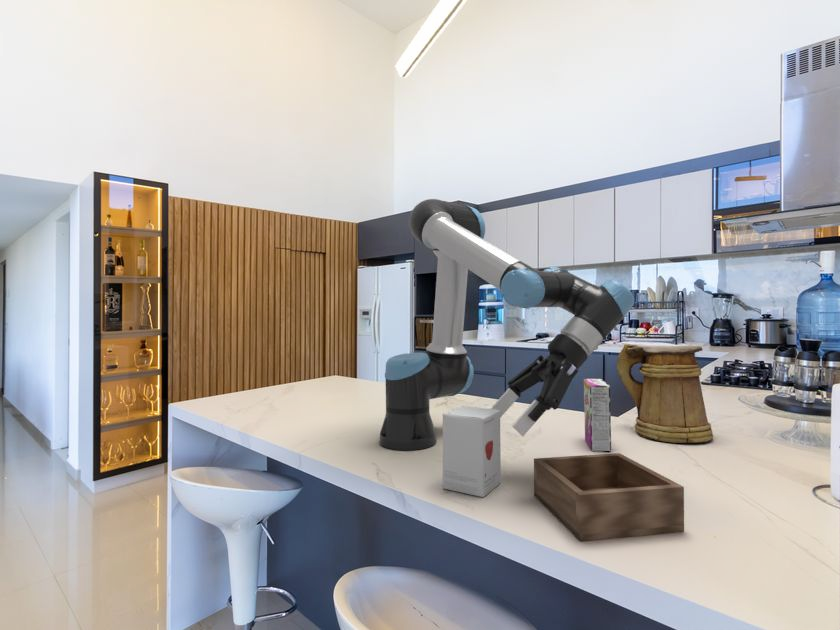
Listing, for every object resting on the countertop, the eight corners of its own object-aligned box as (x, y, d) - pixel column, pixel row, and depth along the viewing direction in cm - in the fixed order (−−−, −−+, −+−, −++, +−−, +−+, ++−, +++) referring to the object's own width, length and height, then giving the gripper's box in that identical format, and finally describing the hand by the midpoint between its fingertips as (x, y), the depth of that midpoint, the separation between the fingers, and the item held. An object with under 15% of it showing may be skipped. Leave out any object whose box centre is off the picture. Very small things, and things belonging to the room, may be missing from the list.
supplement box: (484, 498, 85) (483, 418, 85) (441, 489, 90) (440, 413, 90) (502, 483, 93) (501, 409, 93) (462, 475, 98) (461, 404, 98)
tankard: (714, 449, 114) (713, 348, 113) (612, 436, 126) (611, 345, 126) (712, 432, 129) (711, 343, 129) (621, 422, 141) (621, 341, 141)
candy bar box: (583, 439, 124) (582, 378, 124) (603, 440, 123) (602, 378, 123) (590, 451, 113) (589, 385, 113) (611, 452, 112) (611, 385, 112)
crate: (580, 541, 69) (579, 494, 69) (534, 495, 86) (533, 458, 86) (684, 531, 72) (683, 486, 72) (619, 489, 89) (619, 453, 89)
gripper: (622, 363, 82) (544, 453, 80) (558, 352, 106) (497, 420, 104) (594, 335, 81) (514, 425, 79) (536, 329, 106) (474, 398, 103)
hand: (504, 422), depth 91 cm, fingers open, 13 cm apart
